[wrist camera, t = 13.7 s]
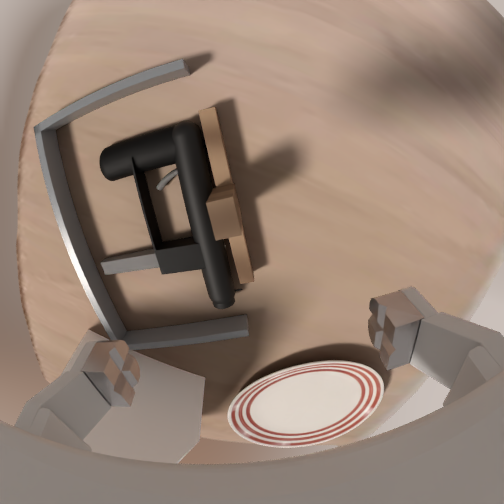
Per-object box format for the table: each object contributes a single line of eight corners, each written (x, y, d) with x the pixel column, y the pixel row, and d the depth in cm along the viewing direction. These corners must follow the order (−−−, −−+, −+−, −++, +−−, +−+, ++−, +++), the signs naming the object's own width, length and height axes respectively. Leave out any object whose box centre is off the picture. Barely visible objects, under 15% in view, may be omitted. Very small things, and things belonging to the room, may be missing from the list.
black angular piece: (120, 318, 31) (246, 307, 29) (66, 161, 23) (206, 114, 21) (129, 304, 34) (247, 291, 32) (82, 157, 26) (212, 116, 25)
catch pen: (48, 126, 22) (33, 127, 20) (188, 66, 22) (182, 58, 19) (124, 337, 34) (117, 351, 32) (248, 320, 34) (248, 335, 31)
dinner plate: (201, 418, 43) (200, 432, 40) (290, 323, 35) (295, 340, 32) (312, 442, 50) (315, 453, 47) (404, 370, 41) (411, 382, 38)
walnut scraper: (199, 113, 24) (182, 103, 16) (219, 109, 24) (210, 96, 16) (238, 273, 31) (237, 318, 24) (255, 270, 31) (260, 314, 24)
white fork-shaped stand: (205, 377, 38) (194, 533, 15) (178, 419, 43) (164, 534, 20) (88, 328, 34) (17, 467, 11) (84, 381, 39) (41, 489, 16)
